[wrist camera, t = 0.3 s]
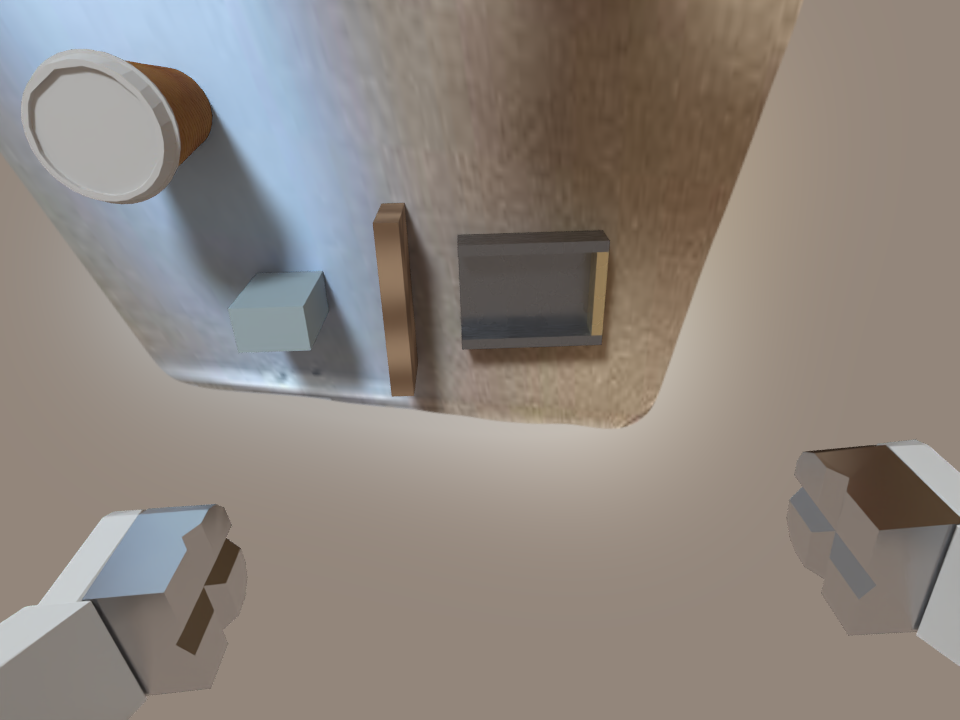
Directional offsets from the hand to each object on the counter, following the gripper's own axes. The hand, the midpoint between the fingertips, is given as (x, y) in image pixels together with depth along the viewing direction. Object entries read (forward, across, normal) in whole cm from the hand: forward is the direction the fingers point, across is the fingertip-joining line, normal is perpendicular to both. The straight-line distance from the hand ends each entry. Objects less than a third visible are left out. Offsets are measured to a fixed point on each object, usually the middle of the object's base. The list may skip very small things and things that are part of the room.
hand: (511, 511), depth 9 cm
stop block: (+47, +18, +14) cm, 52 cm away
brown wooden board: (+47, +8, +15) cm, 50 cm away
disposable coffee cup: (+47, +24, -2) cm, 53 cm away
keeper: (+47, -4, +15) cm, 50 cm away
